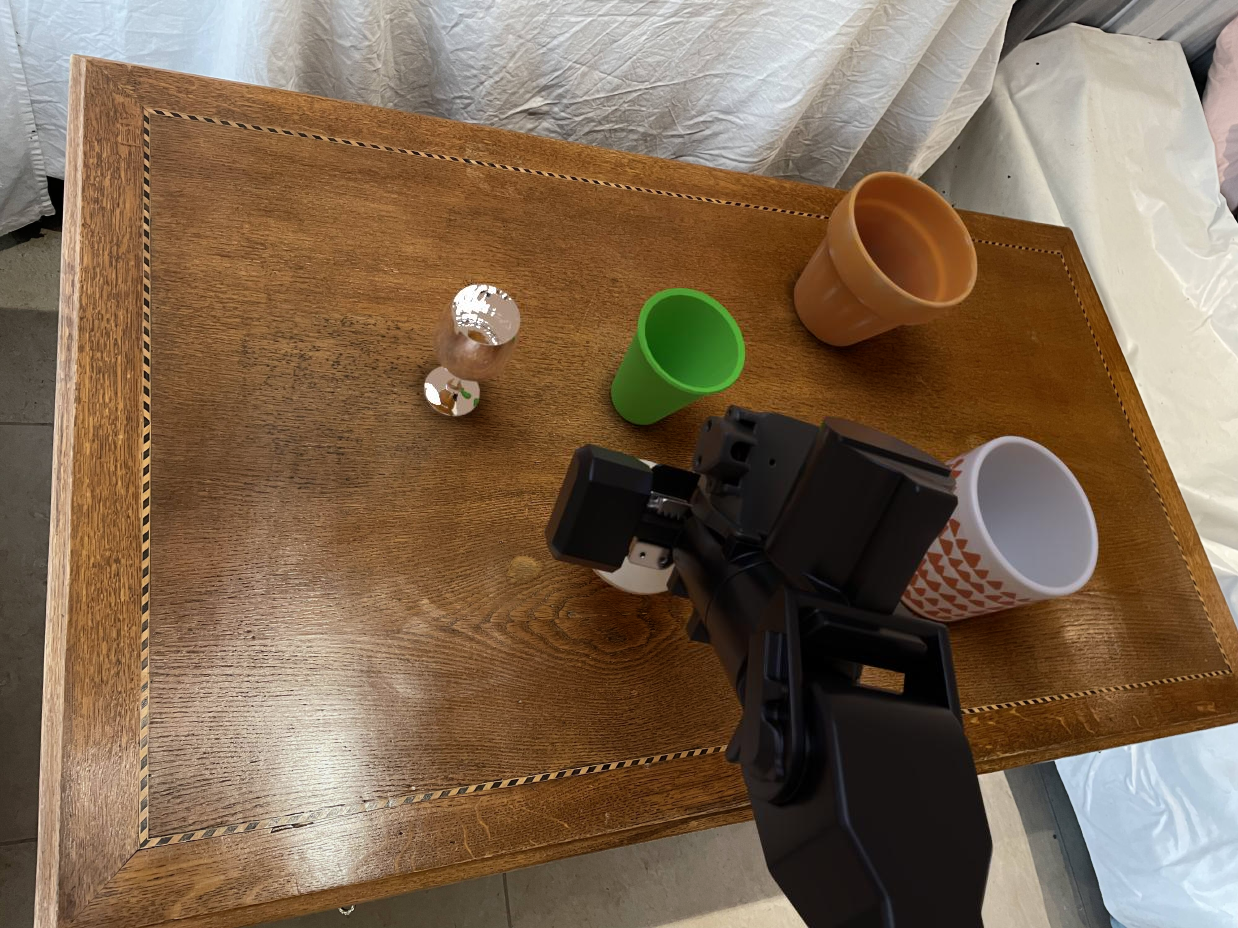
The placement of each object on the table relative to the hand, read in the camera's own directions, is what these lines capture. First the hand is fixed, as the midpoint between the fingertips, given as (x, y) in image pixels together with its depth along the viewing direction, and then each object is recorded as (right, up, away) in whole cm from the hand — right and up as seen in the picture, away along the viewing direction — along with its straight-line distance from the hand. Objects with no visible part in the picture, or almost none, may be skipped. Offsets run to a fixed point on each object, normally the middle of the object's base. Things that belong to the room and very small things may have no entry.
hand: (681, 479), depth 52 cm
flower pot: (+18, +17, +30) cm, 39 cm away
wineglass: (-17, +7, +11) cm, 22 cm away
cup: (-3, +7, +17) cm, 19 cm away
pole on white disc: (-3, -3, +5) cm, 7 cm away
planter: (+25, -7, +24) cm, 36 cm away
